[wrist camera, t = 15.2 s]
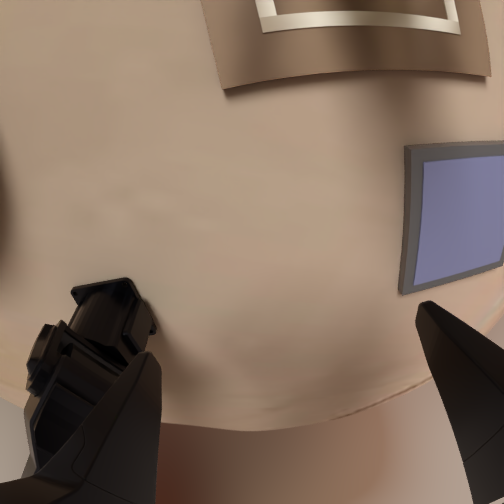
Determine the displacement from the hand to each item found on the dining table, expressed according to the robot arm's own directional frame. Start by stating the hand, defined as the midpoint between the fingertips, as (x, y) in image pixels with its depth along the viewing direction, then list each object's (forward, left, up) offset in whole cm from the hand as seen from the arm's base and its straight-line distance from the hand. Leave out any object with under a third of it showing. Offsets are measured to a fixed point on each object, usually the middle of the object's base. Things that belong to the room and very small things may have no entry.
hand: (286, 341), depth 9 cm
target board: (+9, +17, -13) cm, 23 cm away
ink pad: (+17, -5, -13) cm, 22 cm away
